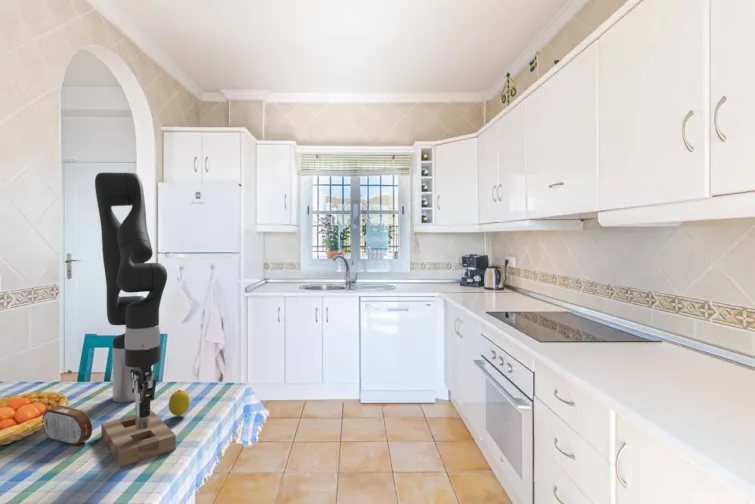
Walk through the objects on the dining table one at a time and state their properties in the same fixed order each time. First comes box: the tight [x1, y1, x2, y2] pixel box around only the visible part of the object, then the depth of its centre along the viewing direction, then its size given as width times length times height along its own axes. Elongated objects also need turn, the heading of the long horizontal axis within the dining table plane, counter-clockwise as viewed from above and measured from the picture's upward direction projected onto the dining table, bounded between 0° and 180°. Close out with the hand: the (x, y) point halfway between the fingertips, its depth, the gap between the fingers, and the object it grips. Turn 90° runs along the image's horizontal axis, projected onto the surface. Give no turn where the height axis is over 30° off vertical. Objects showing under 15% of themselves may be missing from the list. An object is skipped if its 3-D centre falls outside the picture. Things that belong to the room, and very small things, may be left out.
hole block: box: [100, 410, 177, 468], centre depth 103 cm, size 20×12×4 cm, turn 44°
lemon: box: [168, 389, 191, 418], centre depth 119 cm, size 6×6×8 cm
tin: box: [42, 404, 93, 446], centre depth 104 cm, size 15×3×8 cm, turn 71°
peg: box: [135, 387, 150, 429], centre depth 99 cm, size 3×3×10 cm
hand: (142, 413), depth 99 cm, fingers closed on peg, 3 cm apart
